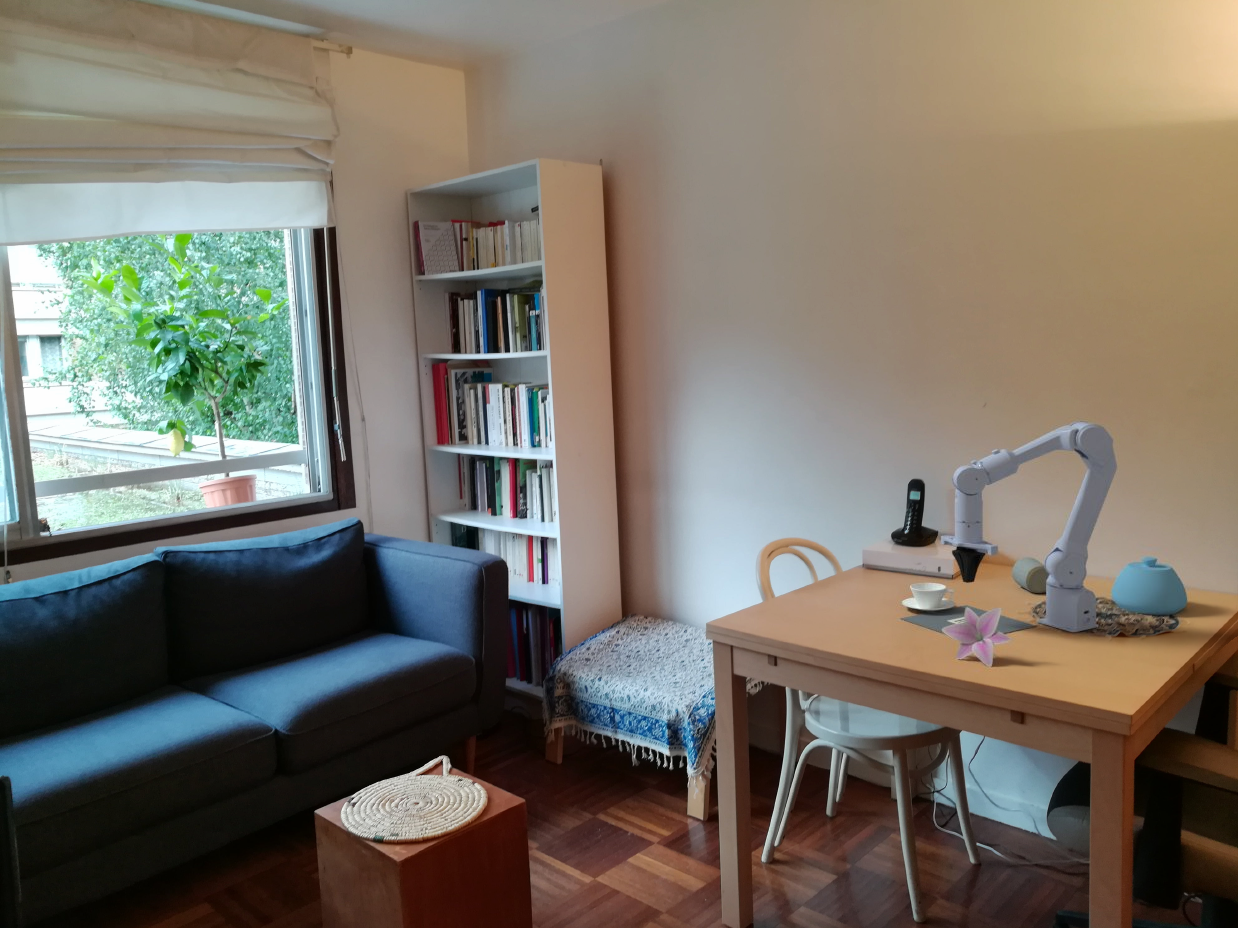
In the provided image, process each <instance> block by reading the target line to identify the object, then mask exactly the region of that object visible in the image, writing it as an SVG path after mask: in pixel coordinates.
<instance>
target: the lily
mask: <svg viewBox="0 0 1238 928" xmlns="http://www.w3.org/2000/svg"><path fill="white" fill-rule="evenodd" d="M1000 615H1002V607H1001V606H1000V607H999V606H998V607H995V608H993V609H990V610H988V612H986V613H984V614H983V615H981V616H980V617H978V616H977V615H976V614H975V613H974V612H973V611H972V610H971V609H970V608H968V607H966V609H965V615H964V622H965V623H958V624H953V625H950V626H946V627H944V628H943V629H942V632H944V633H945V634H944V635H946V636H948V637H950V638H952V639H953V640H955V641H957V642H959V643H960V644H959V647H958V649H957V653H956V660H957V659H960V660H962V659H964V658H966V657H968V656H970V655H971V654H974V655H975V656H976V657H977V659H978V660H979V661H981V662H982V663H983V664H984V665H985V666H987V667H989V666H990V667H992V666H993V662H994V661H993V659H994V646H996V645H1001V644H1006V643H1010V642H1011V641H1012V640H1013V639H1012V638H1011V637H1009V636H1008V635H1007V634H1006V633H1005V634H1003V633H1001V632H999V631H997V630H996V628H997V625H998V621H999V618H1000Z"/></svg>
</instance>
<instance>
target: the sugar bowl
mask: <svg viewBox="0 0 1238 928" xmlns="http://www.w3.org/2000/svg"><path fill="white" fill-rule="evenodd" d="M1141 560H1142V561H1134V562H1129V563H1127V564H1126V565H1125V566H1124V568H1123V569H1122V570H1121V571H1120V573H1119V574H1118V576H1117V577H1116V578H1115V581H1114V583H1113V585H1112V588H1111V592H1110V593H1111V595H1110V597H1111V599H1112V601H1113V602H1114V603H1115V605H1116V606H1117V607H1118V608H1119V609H1121V608H1122V610H1123V609H1124V611H1126V610H1128V611H1127V612H1130V611H1132V612H1131V613H1135V612H1137V613H1136V614H1140V613H1144V614H1143V615H1149V614H1151V615H1153V616H1167V615H1174V614H1177V613H1179V612H1180V611H1182V610H1183V609H1184V608H1185V607H1186V606H1187V604H1188V596H1187V591H1186V588H1185V586H1184V584H1183V581H1182V579H1181V578H1180V577H1179V575H1178V574H1177V572H1176V571H1175V569H1174V568H1173V567H1172V566H1171V565H1168V564H1165V563H1161V562H1158V558H1156V557H1152V556H1143V557H1142V558H1141ZM1151 615H1150V616H1151Z"/></svg>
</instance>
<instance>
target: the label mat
mask: <svg viewBox="0 0 1238 928" xmlns="http://www.w3.org/2000/svg"><path fill="white" fill-rule="evenodd" d="M966 607H968V608H970V609H971V610H972V611H973V612H974V613H975V614H976V615H977V616H978V617H980V616H981V615H983V614H984V613H986V612H988V611H989V610H988V611H987V610H985V609H981V608H977V607H974V606H972V605H971V606H970V605H967V604H965V605H961V606H954V607H951V608H947V609H940V610H937V611H929V612H925V613H921V614H916V615H911V616H905V617H901V618H900V620H902V621H905V622H908V623H911V624H914V625H917V626H919V627H922V628H926V629H929V630H931V631H935V632H937V633H940V634H943V635H946V634H945V633H944V632H942V629H943V628H944V627H946V626H950V625H953V624H958V623H965V622H964V615H965V609H966ZM1035 627H1037V625H1035V624H1032V623H1029V622H1025V621H1022V620H1018V619H1014V618H1013V617H1008V616H1005V615H1002V614H1001V615H1000V618H999V621H998V625H997V628H996V630H997V631H999V632H1001V633H1003V634H1005V635H1006V634H1008V633H1013V632H1018V631H1022V630H1026V629H1031V628H1032V629H1033V628H1035Z"/></svg>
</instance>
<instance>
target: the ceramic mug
mask: <svg viewBox="0 0 1238 928" xmlns="http://www.w3.org/2000/svg"><path fill="white" fill-rule="evenodd" d="M1011 570H1012V571H1011V575H1012V579H1013V581H1014V582H1015V584H1017V585H1018V586H1020V587H1022V588H1023V589H1025V590H1027V591H1029V592H1031V593H1035V594H1044V593H1046V580H1047V579H1048V577H1049V573H1048V572H1047V571H1046V570H1045V567H1044V563H1041V561H1039V560H1037V559H1035V558H1033V557H1030V556H1028V557H1027V556H1026V557H1022V558H1020V559H1018V560H1017V561H1016V562H1015V563H1014V565H1013V567H1012V568H1011Z"/></svg>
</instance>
